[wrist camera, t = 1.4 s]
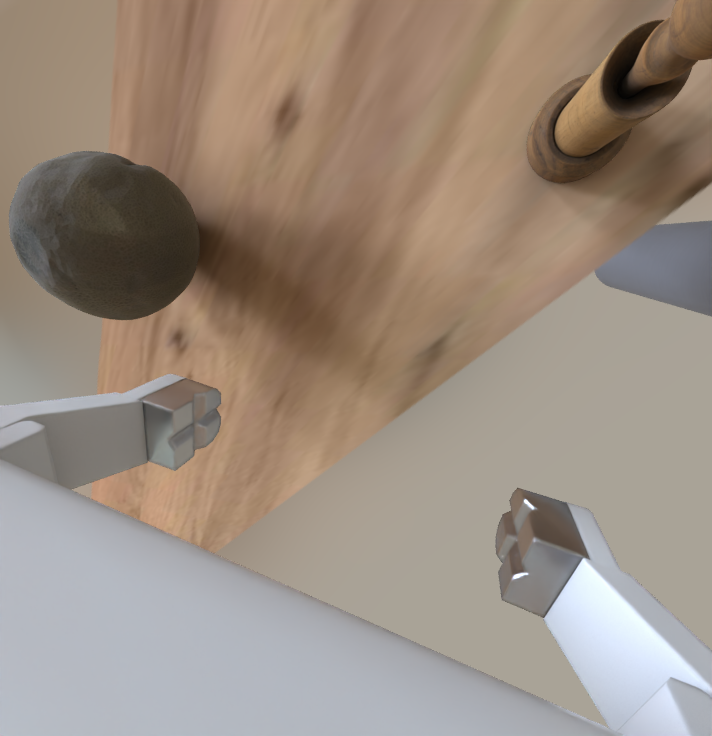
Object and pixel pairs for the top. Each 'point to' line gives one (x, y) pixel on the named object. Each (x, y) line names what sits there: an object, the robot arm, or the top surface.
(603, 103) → the mortar and pestle
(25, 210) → the cantaloupe
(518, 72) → the top surface
